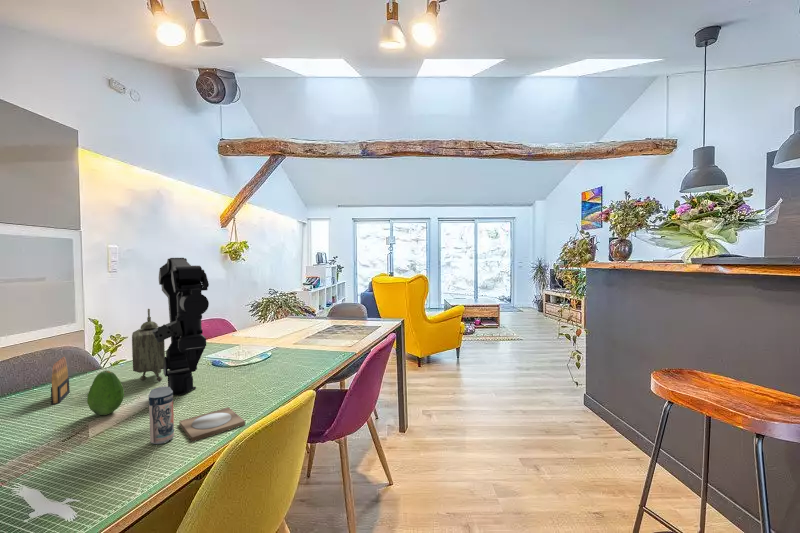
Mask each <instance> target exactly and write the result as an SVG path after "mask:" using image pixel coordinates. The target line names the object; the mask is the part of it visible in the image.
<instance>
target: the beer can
mask: <svg viewBox="0 0 800 533" xmlns="http://www.w3.org/2000/svg"><path fill="white" fill-rule="evenodd" d="M174 413H175V412H174V395H173V391H172V390H171V388H170V387H168V385H167V386H159V387H155V388H152V389H151V390H150V392H149V393H148V415H149V418H148V419H149V442H150V443H151V444H154V445H163V444H165V442H166V443H168V442H170V441H172V439H173V438H174V437H175V419H174V418H175V417H174V415H175V414H174ZM169 440H170V441H169Z"/></svg>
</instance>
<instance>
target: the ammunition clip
mask: <svg viewBox="0 0 800 533" xmlns="http://www.w3.org/2000/svg"><path fill="white" fill-rule="evenodd" d="M68 372H69V369H68V365H67V359H66V357H65V356H63V357H61V358H60V359H59V360H57V361H55V363H53V366H52V372H51V387H50V402H51V404H50V405H51V406H52V405H58V404H60V403H62V402H63V400H65V398H66V397H67V396H68V395H69V394H70V393H71V392H70V377H69V373H68Z"/></svg>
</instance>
